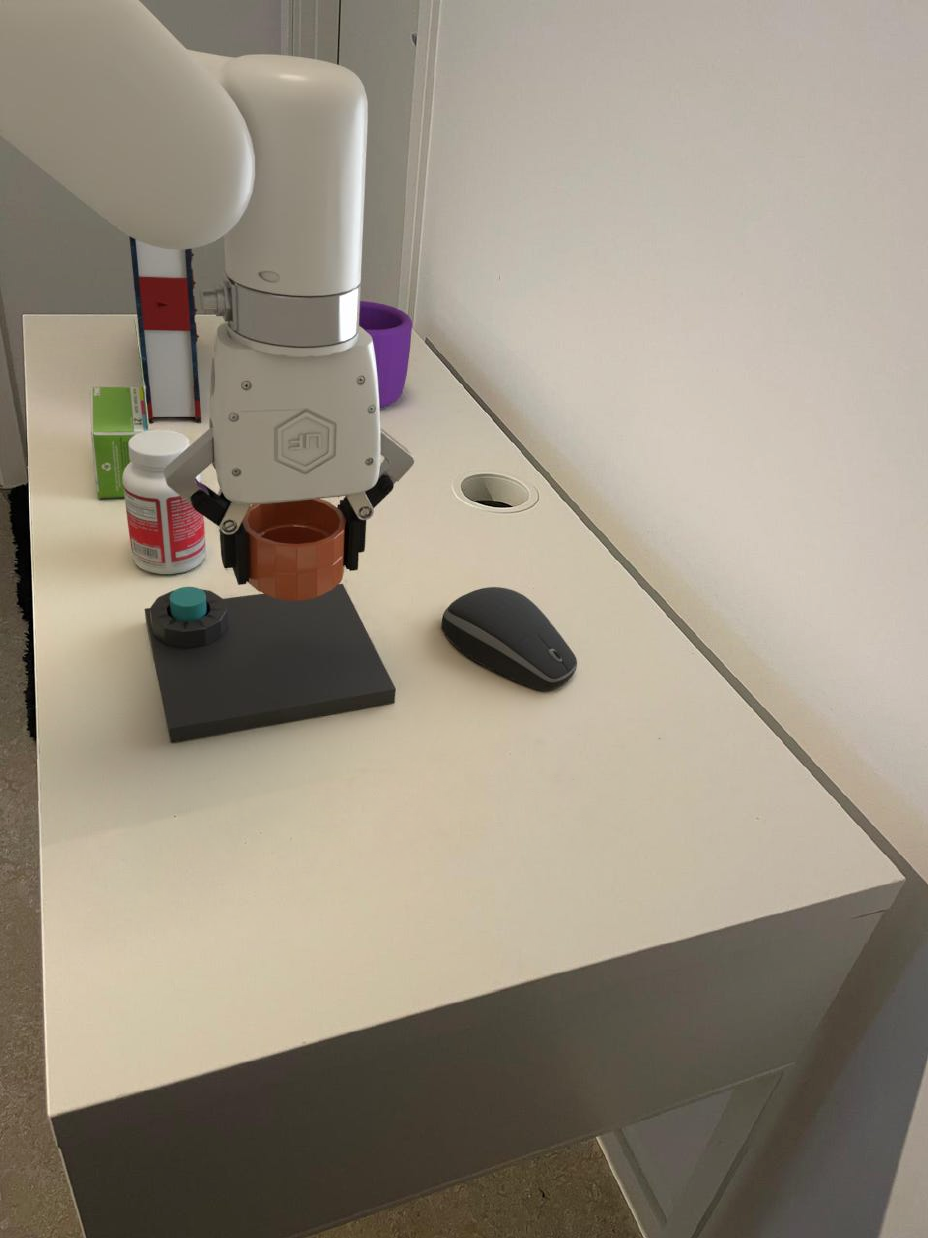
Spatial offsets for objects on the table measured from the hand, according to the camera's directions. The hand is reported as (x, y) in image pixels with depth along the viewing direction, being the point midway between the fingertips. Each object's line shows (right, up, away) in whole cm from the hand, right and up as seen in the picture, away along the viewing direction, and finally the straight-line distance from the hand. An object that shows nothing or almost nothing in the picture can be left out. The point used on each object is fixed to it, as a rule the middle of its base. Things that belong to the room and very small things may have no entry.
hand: (294, 565), depth 62 cm
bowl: (0, -1, +1) cm, 1 cm away
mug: (-2, +26, +52) cm, 58 cm away
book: (-24, +25, +47) cm, 58 cm away
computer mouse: (+15, -6, +12) cm, 20 cm away
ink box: (-22, +11, +27) cm, 37 cm away
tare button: (-9, -3, +6) cm, 12 cm away
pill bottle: (-14, +2, +16) cm, 22 cm away
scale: (-3, -7, +7) cm, 10 cm away
